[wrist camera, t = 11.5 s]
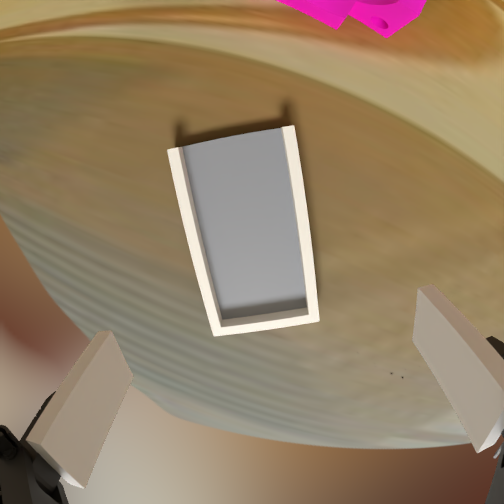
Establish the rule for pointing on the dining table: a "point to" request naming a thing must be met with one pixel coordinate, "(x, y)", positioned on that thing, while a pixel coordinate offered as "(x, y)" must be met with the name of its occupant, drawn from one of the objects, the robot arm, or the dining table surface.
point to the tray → (248, 230)
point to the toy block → (362, 12)
